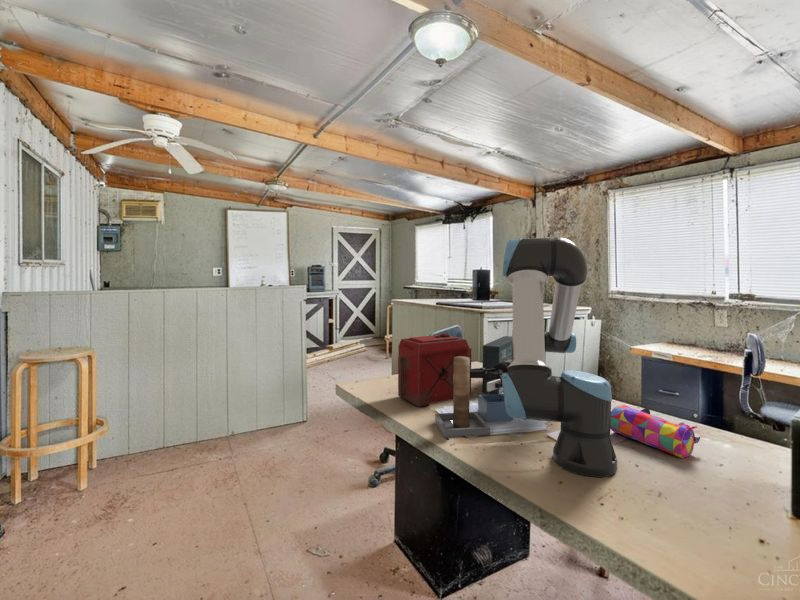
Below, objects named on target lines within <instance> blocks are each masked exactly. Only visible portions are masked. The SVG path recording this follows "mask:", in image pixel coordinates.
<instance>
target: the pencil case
mask: <svg viewBox="0 0 800 600" xmlns="http://www.w3.org/2000/svg"><path fill="white" fill-rule="evenodd" d="M697 428H698V425H694V426H690V425H689V424H686V423H685V422H682V421H681V422H679V423H674V422H671V421H668V420H666V419H664V418H662V417H660V416H655V415H653V414H651V413H650V414H647V413H645V412H642V411H641V410H639V409H635V408H632V407H630V406H628V405H625V404H624V405H617V406H615V407H613V409H611V424H610V431H612V432H613V433H617V434H620V435H622V436H625V437H627V438H629V439H631V440H636V441H638V442H639V443H643V444H644V445H648V446H650V447H653V448H656V449H658V450H661V451H663V452H666V453H668V454H670V455H674V456H675V457H677V458H680V459H684V458H688V457H689V456H691V455H692V453H693V451H694V448H695V447H694V446H695V444H698V443H699V442H700V440H701V436H698V437H697V436H696V435H695V431H694V429H697Z"/></svg>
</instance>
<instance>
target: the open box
mask: <svg viewBox="0 0 800 600" xmlns="http://www.w3.org/2000/svg"><path fill="white" fill-rule="evenodd" d="M477 397H478V399H477V400H478V401H477V407H478V408H477V413H479V416H480V417H481V418H482V419H483V420H484V421H486V422H500V421H501V422H502V421H504V422H505V421H514V418H512V417H510V416H509V415H508V414H507V412H506V408H505V402H504V394H503V393H501V394H478V396H477Z"/></svg>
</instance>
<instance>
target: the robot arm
mask: <svg viewBox="0 0 800 600" xmlns="http://www.w3.org/2000/svg"><path fill="white" fill-rule="evenodd" d="M502 276H503V277H505V278H507V283H508V284H509V285H510V286H512V331H511V332H512V333H511V337H512V359H511V360H507V361H504V362H500V363H497V364H496V365H495V366H494V368H491V369H486V368H485V367H483V366H482V367H476V368H471V369H470V378H471V379H483V378H484V379H491V380H494V381H491V382H488V383H487V391H488V392H490V391H492V390H495V389H498V388H501V387H502V388H503V392H502V394H504V402H505V408H506V412H507V414H508V415H509V416H510V417H512V418H513V419H519V420H524V421H526V420H530V421H542V422H543V421H544V422H554V423H555V422H556V423H560V430H559V433H558V435H557V437H556V438H557V439H556V440H555V443H554V446H553V449H552V460H553V462H554V463H555V464H557V465H558V467H561V468H562V469H565V470H567V471H569V472H571V473H575V474H577V475H581V476H586V477H587V476H588V477H595V478H597V477H598V478H599V477H602V478H603V477H610V476H612V475H614V474H615V473H617V471H618V458H617V454H616V452H615V449H614V445H613V442H612V439H611V428H610V424H611V411H612V402H613V397H612V385H611V383H610V382H609V381H608V380H607V379H606V378H604V377H602V376H599V375H597V374H593V373H590V372H585V371H579V370H573V369H570V370H568V369H567V370H562V372H561V374H560V376H558V375H557V376H554V375H553V372H552V367H550V365H548V364H547V363H546V353H556V354H567V353H568V354H571V353H575V351H576V349H577V337H576V334H575V333H574V332H573V328H574V322H575V318H576V312H577V307H578V303H579V298H580V292H581V287H582V285H583V284H585V282H586V280H587V276H588V262H587V260H586V256H585V255H584V253H583V252H582V250H581V249H580V247H578V245H576V244H575V243H574V242H573V241H572V240H570V239H567V238H564V237H558V236H556V237H534V238H533V237H531V238H527V237H526V238H524V237H520V238H512V239H511V238H510V239H509V240H507V242H506V245H505V250H504V256H503V266H502ZM549 277H552V278H553V280H554V282H555V283H554V291H553V298H552V299H553V300H552V306H551V312H550V320H549V321H550V322H549V328H548V331H545V318H544V317H545V315H544V290H543V289H544V288H543V287H544V284H546V283H547V282H548V280H549ZM486 374H487V377H486ZM453 382H454V374H453Z"/></svg>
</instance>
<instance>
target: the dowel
mask: <svg viewBox="0 0 800 600" xmlns="http://www.w3.org/2000/svg"><path fill="white" fill-rule="evenodd" d="M470 395H471V394H470V358H469V357H463V356H458V357H454V388H453V399H452V400H453V403H452V404H453V406H452V407H453V410H452V411H453V412H452V413H453V427H454V428H469V412H470V398H471V397H470Z"/></svg>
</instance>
